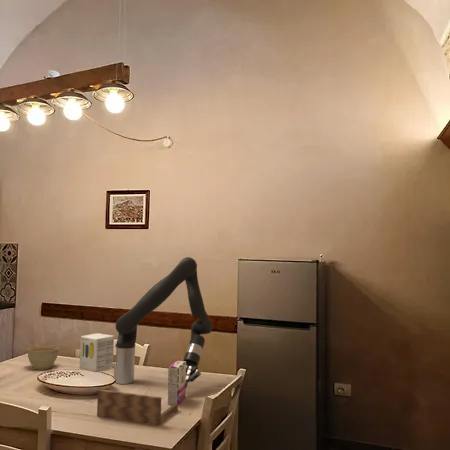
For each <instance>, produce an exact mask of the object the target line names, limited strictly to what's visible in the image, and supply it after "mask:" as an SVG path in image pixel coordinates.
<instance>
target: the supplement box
mask: <svg viewBox="0 0 450 450" xmlns="http://www.w3.org/2000/svg"><path fill="white" fill-rule="evenodd" d="M79 344H80V346H79V349H80V351H79V369H82V370H87V371H91V372H99V371H103V370H107V369H112V368H114V351H115V350H114V346H115V335H111V334H106V333H105V334H104V333H99V332H97V333H91V334H86V335H81V336H80V343H79Z"/></svg>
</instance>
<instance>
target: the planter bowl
mask: <svg viewBox="0 0 450 450" xmlns="http://www.w3.org/2000/svg"><path fill="white" fill-rule="evenodd" d="M59 350H60V347H59V346H57V345H54V344H53V345H52V344H51V345H50V344H48V345H47V344H42V345H41V344H40V345H34V346H29V347H28V348H27V358H28V361H29V364H30V365H31V366H32V369H34V370H40V371H43V370H49V369H52V367H53V364H54V363H55V362H56V361H57V358H58V355H59Z"/></svg>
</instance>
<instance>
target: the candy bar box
mask: <svg viewBox="0 0 450 450" xmlns="http://www.w3.org/2000/svg"><path fill="white" fill-rule="evenodd" d="M167 373H168V375H167V377H168V379H167V383H168V384H167V385H168V386H167V387H168V388H167V405H168V406H172V405H174V404H178V406H180V404H181V403H182V402H183V401H184V400H185V399H186V395H187V394H186V393H187V392H186V391H187V388H186V361H183V360H175V361H174V362H173V363H172V364H171V365H169V366H168V372H167Z"/></svg>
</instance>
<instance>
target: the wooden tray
mask: <svg viewBox="0 0 450 450" xmlns="http://www.w3.org/2000/svg"><path fill="white" fill-rule="evenodd" d="M96 407H97V408H96V409H97V410H96V417H100V416H102V417H103V418H107V417H108V418H109V419H114V418H115V419H114V420H121V421H126V422H132V423H133V422H134V423H141V424H146V425H147V423H148V425H154V426H160V425H161V424H163V423H164V422H165V421H166V420H167V418H168V417H169V418H170V417H171V416H173V413H174V414H175V413H176V412H178V410H179V405H178V404H174V405H170V406H169V407H168V408H167V409H166V410H164V411H163V412H162V397H160V396H152V395H146V394H145V395H144V394H138V393H129V392H122V391H116V390H108V389H98V390H97V406H96ZM102 417H101V418H102ZM162 422H163V423H162Z"/></svg>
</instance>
